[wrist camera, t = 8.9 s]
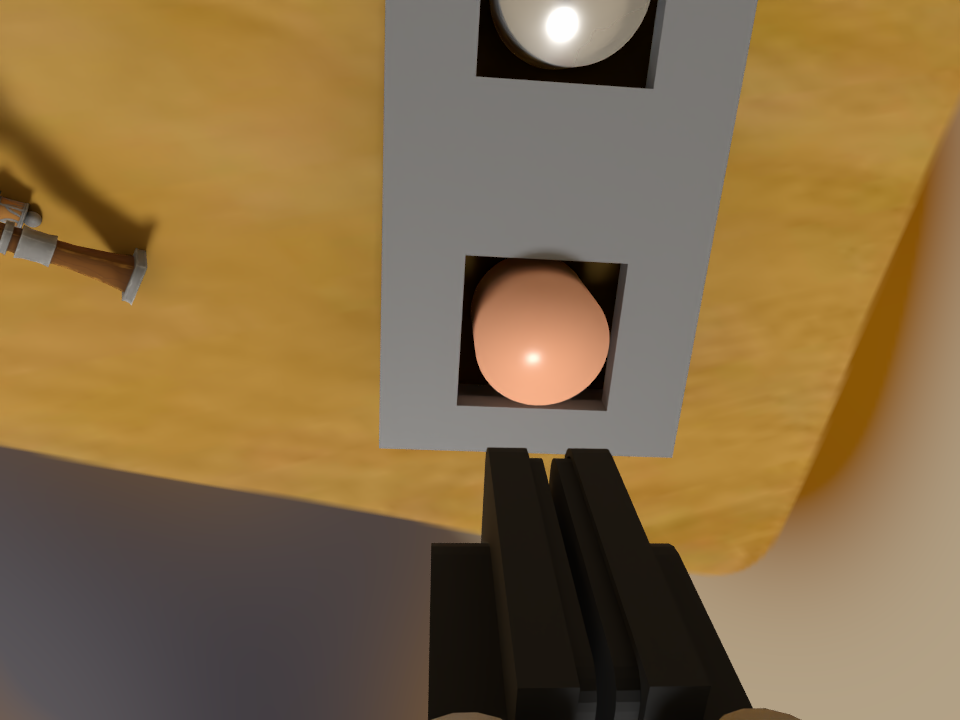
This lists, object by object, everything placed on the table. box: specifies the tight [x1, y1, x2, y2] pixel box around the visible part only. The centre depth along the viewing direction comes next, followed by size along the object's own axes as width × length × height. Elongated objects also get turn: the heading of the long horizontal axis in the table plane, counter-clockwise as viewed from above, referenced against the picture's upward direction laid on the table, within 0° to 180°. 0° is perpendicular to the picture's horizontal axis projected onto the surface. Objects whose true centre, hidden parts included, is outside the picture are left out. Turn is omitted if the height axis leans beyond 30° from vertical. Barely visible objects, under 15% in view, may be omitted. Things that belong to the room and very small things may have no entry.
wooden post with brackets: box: [0, 191, 147, 305], centre depth 27 cm, size 2×8×4 cm, turn 60°
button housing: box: [379, 0, 758, 458], centre depth 26 cm, size 22×12×4 cm, turn 176°
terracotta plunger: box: [471, 258, 610, 405], centre depth 28 cm, size 5×5×4 cm
